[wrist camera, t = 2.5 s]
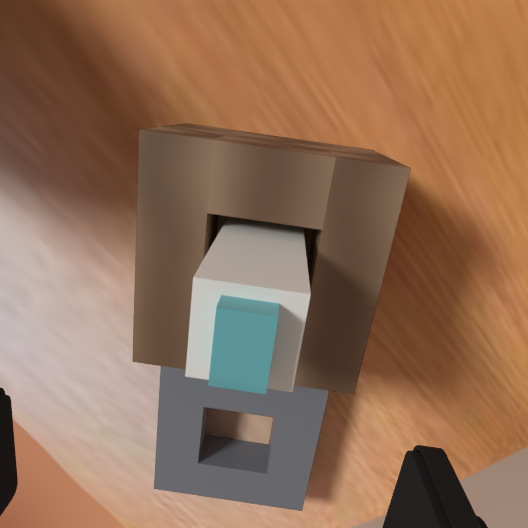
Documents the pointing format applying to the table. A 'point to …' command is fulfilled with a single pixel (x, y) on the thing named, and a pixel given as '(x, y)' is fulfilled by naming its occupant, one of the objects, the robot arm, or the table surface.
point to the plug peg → (249, 307)
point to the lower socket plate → (236, 442)
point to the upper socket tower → (268, 210)
